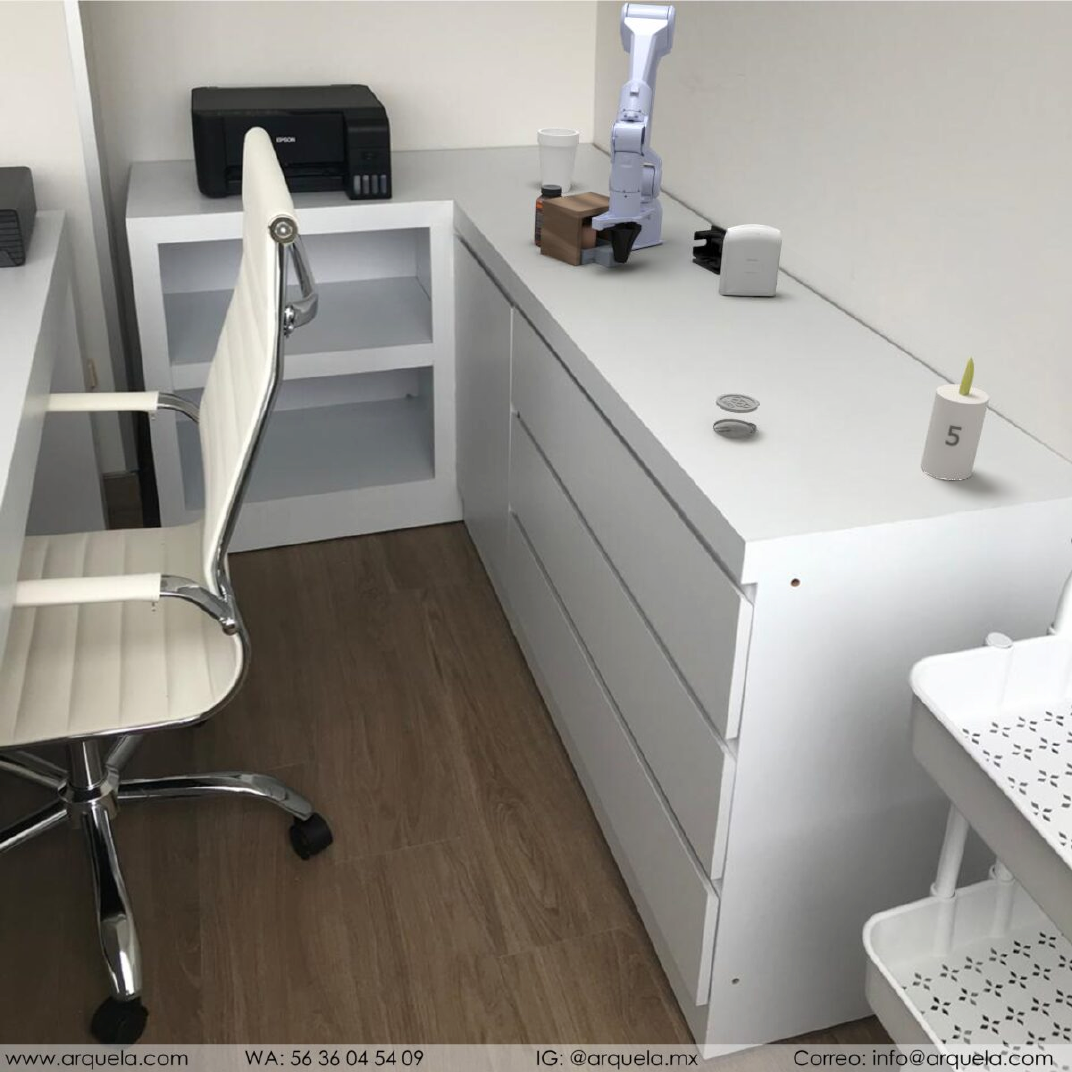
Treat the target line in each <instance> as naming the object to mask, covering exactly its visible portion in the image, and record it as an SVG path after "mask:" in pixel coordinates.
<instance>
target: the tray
mask: <svg viewBox="0 0 1072 1072" xmlns="http://www.w3.org/2000/svg"><path fill="white" fill-rule="evenodd" d="M592 263H597V264H600V265H602V266H605V267H608V268H611V267H617V266H620V265H621V264H620V263H617V262H615V260H614V254H613V249H612V245H611V242H610V241H607V240H604V239H601V238H597V237H596V244H595V248H590V249H586V250H583V249H580V264H581V265H587V264H592Z"/></svg>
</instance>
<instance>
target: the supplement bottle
mask: <svg viewBox="0 0 1072 1072" xmlns="http://www.w3.org/2000/svg"><path fill="white" fill-rule="evenodd" d="M540 189H541V190H540V193H541V195H539V196H538V197H537V198H536V200H535V210H534V211H535V212H534V213H535V214H534V216H535V217H534V219H535V220H534V236H533V237H534V243H535V244H536V245H537V246H540V247H541V224H542V200H548V199H553V198H559V197H563V196H562V194H563V193H562V187H561V186H559V185H543V186H542V185H541V188H540Z"/></svg>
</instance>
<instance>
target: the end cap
mask: <svg viewBox="0 0 1072 1072" xmlns="http://www.w3.org/2000/svg"><path fill="white" fill-rule="evenodd" d="M726 231H727V229H725V228H723V227H720V226H718V225H715V224H711V226H710V229H705V230H698V231H697V230H696V231H695V232H694V235H693V240H694V241H700V240H701V241H702V240H705V244H704V245H703V244H702V245H696V246H692V256H693V259H692V263H694V264H695V265H698V266H699V267H701V268H703V269H705V270H708V272H711V273H713V274H715V275H719V276H720V271H721V261H722V251H723V242H724V237H725V235H726Z"/></svg>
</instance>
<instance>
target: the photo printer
mask: <svg viewBox="0 0 1072 1072" xmlns="http://www.w3.org/2000/svg"><path fill="white" fill-rule="evenodd" d="M726 230H727V231H726V235H725V237H724V242H723V251H722V261H721V271H720V275H719V284H718V293H719V294H720V295H721V296H747V297H748V296H750V297H755V296H756V297H759V296H760V297H774V296H775V295H776V293H777V291H776V290H777V284H778V276H779V268H780V261H781V260H780V259H781V252H782V241H783V240H782V235H781V231H780V230H779V229H778V228H775V227H772V226H768V225H764V224H756V223H755V224H754V223H752V224H750V223H749V224H739V225H735V226H732V227H729V228H727V229H726Z"/></svg>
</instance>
